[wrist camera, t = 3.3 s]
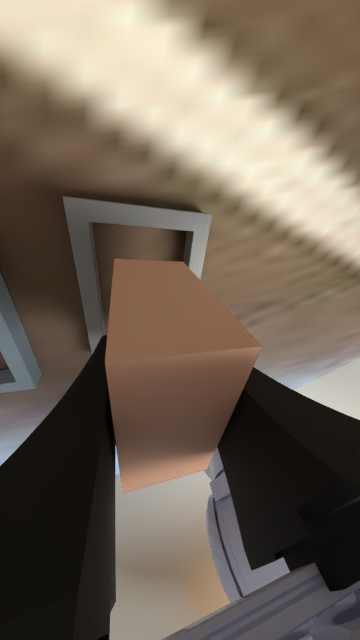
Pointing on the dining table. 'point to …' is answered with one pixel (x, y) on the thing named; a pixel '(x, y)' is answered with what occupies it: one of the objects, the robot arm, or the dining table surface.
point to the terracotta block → (170, 370)
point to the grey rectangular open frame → (100, 211)
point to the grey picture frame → (15, 349)
